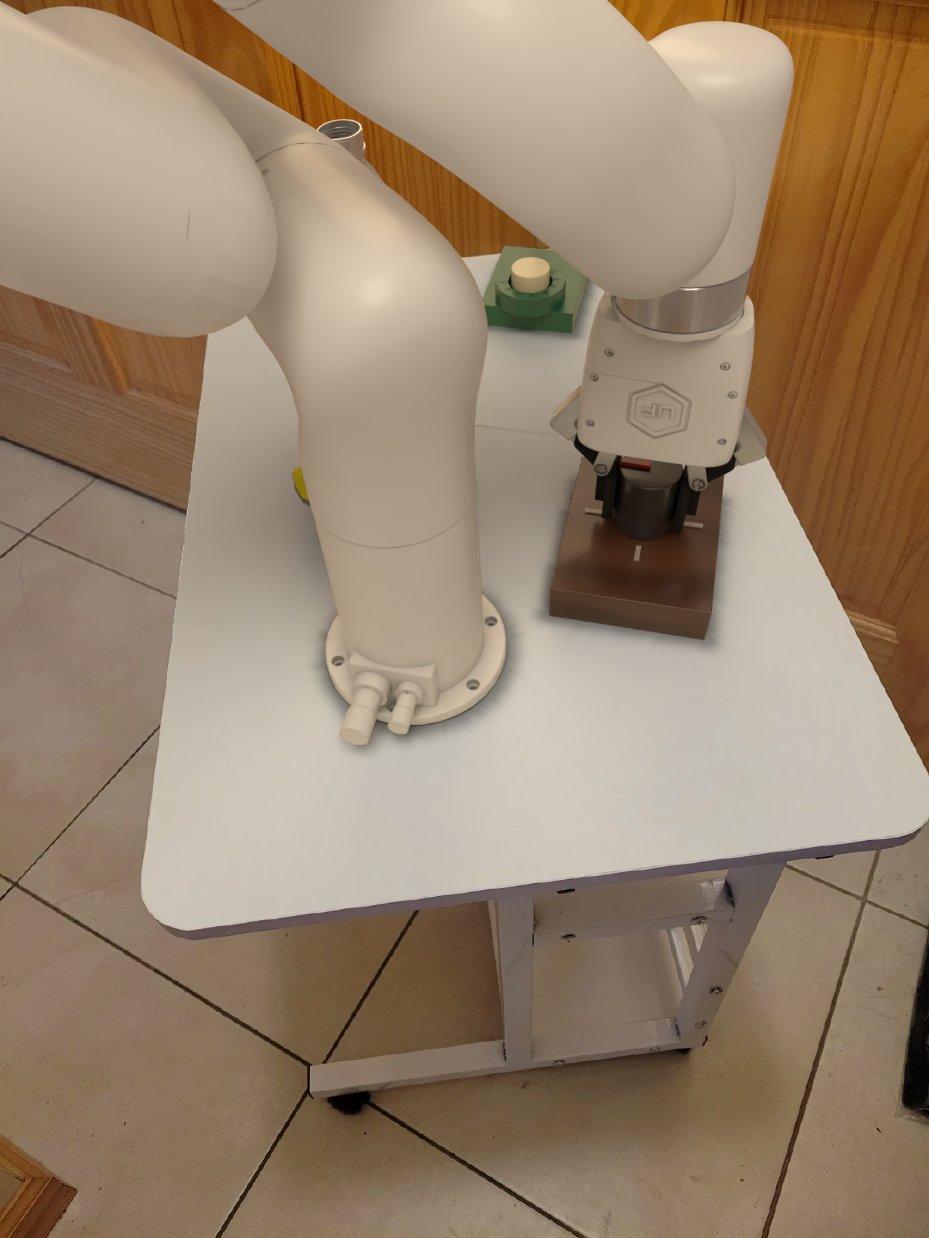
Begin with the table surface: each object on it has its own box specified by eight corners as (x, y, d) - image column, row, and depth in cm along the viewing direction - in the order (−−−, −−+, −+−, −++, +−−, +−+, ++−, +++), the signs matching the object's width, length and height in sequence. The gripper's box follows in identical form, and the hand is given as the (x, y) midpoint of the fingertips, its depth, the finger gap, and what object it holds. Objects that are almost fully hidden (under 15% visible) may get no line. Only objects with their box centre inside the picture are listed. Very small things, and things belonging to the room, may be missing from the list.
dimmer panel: (704, 640, 62) (712, 611, 60) (548, 615, 64) (550, 587, 62) (717, 502, 71) (725, 472, 68) (579, 484, 73) (581, 454, 70)
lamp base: (569, 341, 85) (572, 304, 82) (477, 332, 87) (476, 295, 84) (589, 273, 92) (592, 235, 89) (504, 265, 94) (503, 228, 91)
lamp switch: (545, 296, 84) (546, 279, 82) (507, 293, 84) (507, 275, 83) (552, 275, 86) (553, 258, 84) (515, 272, 86) (515, 255, 85)
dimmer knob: (677, 503, 67) (688, 448, 63) (668, 544, 64) (679, 490, 60) (619, 493, 68) (625, 438, 63) (607, 534, 65) (614, 480, 61)
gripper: (520, 302, 51) (519, 528, 65) (833, 338, 47) (759, 569, 61) (549, 234, 55) (542, 460, 69) (836, 263, 52) (767, 495, 66)
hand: (644, 509), depth 65 cm, fingers closed on dimmer knob, 4 cm apart
